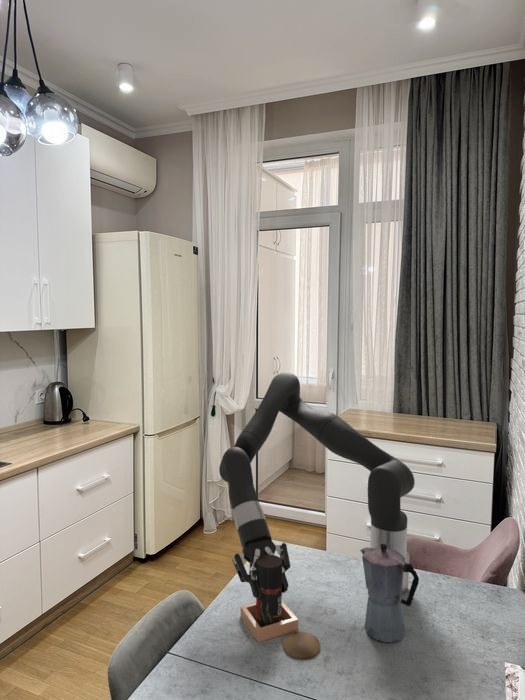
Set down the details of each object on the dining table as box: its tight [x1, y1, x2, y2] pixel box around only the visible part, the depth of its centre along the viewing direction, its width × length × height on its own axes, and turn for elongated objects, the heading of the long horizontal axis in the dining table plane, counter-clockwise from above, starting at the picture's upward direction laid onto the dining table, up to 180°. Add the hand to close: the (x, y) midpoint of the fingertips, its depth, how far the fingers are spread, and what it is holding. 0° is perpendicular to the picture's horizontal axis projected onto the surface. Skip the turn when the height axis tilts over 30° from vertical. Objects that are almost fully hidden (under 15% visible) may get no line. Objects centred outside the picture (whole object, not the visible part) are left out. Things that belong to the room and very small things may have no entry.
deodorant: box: [255, 554, 283, 627], centre depth 111 cm, size 6×6×15 cm
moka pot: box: [359, 544, 420, 643], centre depth 109 cm, size 10×15×20 cm, turn 45°
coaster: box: [282, 630, 321, 660], centre depth 104 cm, size 8×8×1 cm
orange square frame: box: [239, 600, 299, 643], centre depth 112 cm, size 10×10×2 cm
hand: (272, 594), depth 110 cm, fingers closed on deodorant, 6 cm apart
